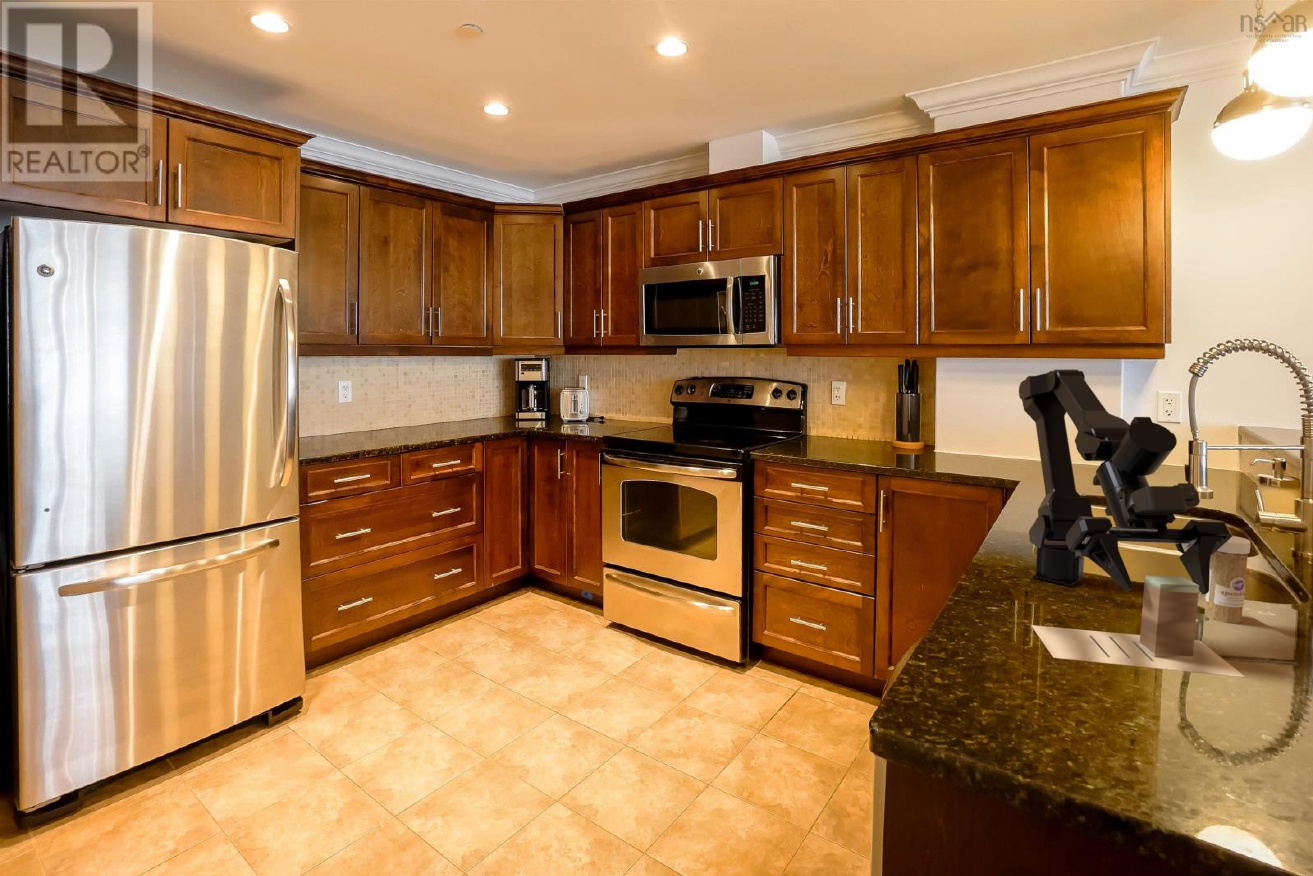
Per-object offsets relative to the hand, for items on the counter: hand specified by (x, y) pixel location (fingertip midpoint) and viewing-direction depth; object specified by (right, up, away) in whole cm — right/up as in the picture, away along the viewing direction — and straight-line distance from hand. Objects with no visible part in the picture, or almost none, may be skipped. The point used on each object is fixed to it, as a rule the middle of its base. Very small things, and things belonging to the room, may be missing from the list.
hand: (1167, 591), depth 88 cm
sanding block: (0, -8, 0) cm, 8 cm away
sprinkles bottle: (+18, -8, +12) cm, 23 cm away
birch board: (-4, -9, +2) cm, 10 cm away
